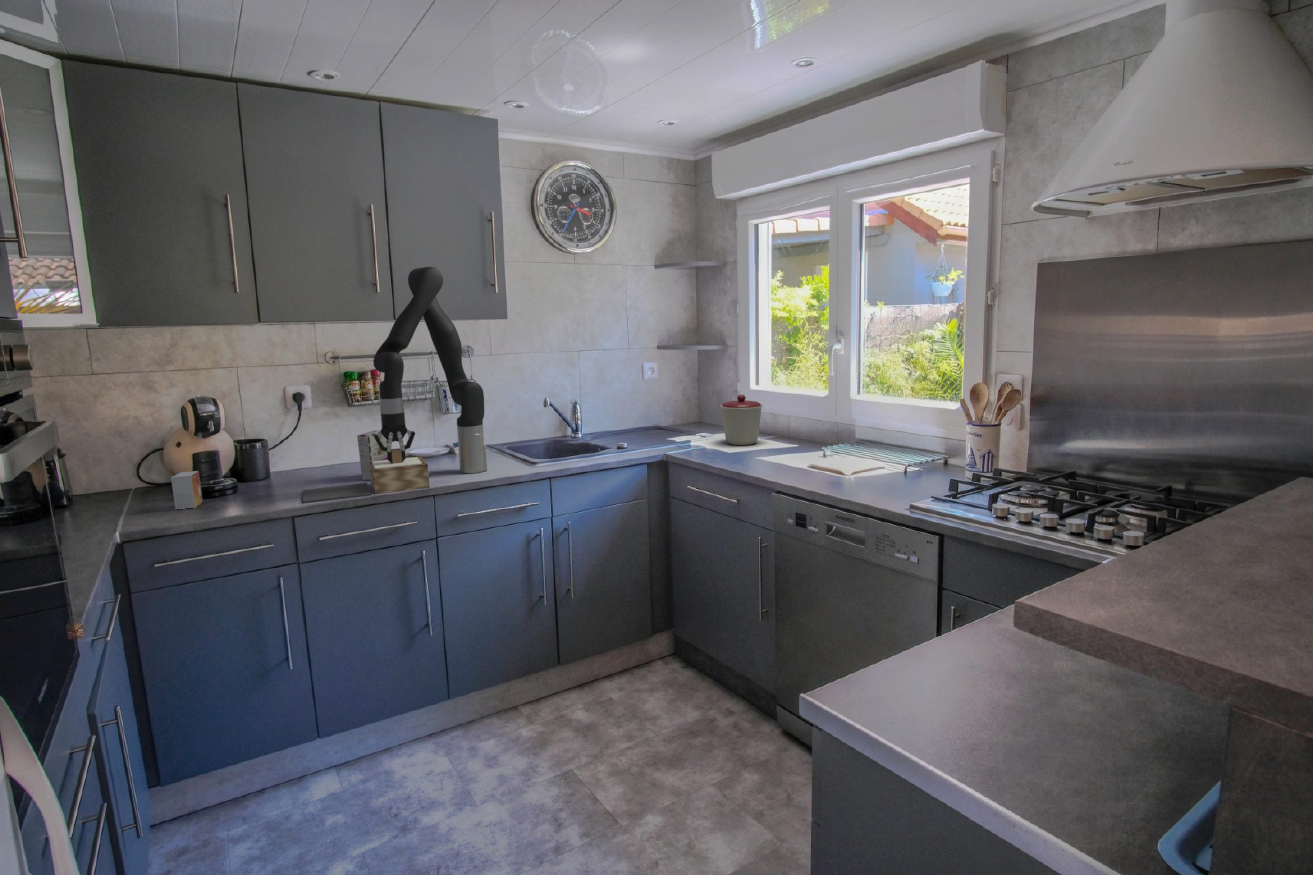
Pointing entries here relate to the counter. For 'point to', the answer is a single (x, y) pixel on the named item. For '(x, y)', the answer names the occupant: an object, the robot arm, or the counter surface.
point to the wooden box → (400, 478)
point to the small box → (186, 490)
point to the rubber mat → (335, 492)
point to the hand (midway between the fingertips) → (396, 461)
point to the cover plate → (396, 461)
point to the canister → (741, 421)
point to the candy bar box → (370, 452)
